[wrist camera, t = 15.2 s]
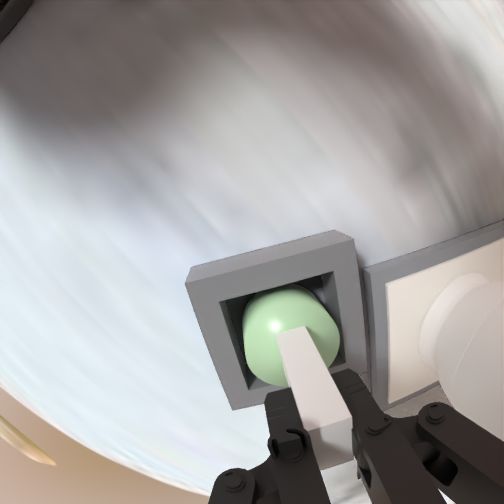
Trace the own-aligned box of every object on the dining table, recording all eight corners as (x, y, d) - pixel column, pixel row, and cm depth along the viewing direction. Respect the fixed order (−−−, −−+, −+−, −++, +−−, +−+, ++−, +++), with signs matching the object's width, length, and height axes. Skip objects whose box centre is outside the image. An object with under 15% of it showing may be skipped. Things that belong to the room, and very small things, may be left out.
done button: (253, 363, 18) (257, 395, 15) (232, 295, 17) (233, 320, 14) (327, 343, 19) (343, 371, 15) (315, 273, 17) (333, 293, 14)
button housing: (231, 382, 20) (232, 410, 17) (191, 267, 18) (184, 283, 15) (351, 349, 20) (367, 372, 17) (334, 229, 18) (353, 238, 15)
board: (371, 405, 22) (377, 415, 20) (362, 268, 19) (372, 275, 17) (496, 339, 22) (504, 345, 21) (505, 218, 19) (517, 221, 18)
